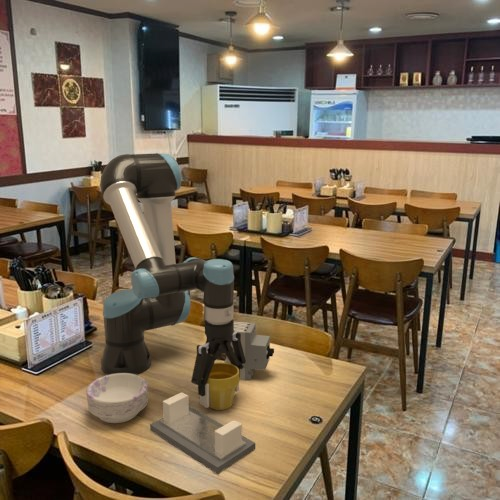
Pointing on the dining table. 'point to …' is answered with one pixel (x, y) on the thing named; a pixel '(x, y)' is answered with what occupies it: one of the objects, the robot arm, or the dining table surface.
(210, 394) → the plant pot
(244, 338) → the circuit breaker
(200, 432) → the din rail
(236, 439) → the mounted modules
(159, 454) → the dining table surface
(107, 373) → the robot arm
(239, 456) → the mounting plate
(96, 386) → the paper bowls
